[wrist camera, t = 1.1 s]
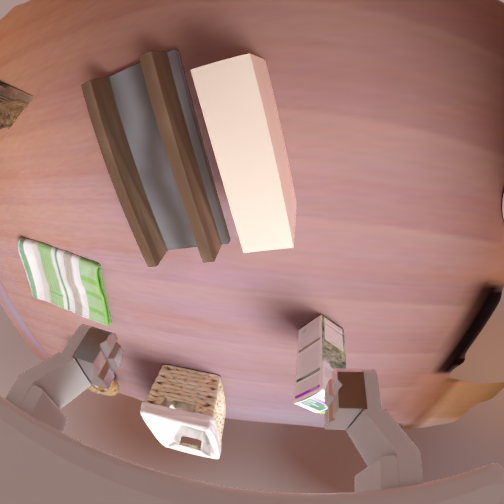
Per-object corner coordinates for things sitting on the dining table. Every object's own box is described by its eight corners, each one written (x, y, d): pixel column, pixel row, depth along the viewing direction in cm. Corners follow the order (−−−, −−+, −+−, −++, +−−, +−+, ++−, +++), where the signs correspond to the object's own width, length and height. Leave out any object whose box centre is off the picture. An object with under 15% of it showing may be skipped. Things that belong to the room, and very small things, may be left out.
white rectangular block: (264, 59, 27) (249, 53, 19) (296, 203, 37) (293, 247, 28) (221, 69, 29) (190, 69, 20) (257, 208, 38) (243, 253, 30)
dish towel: (22, 233, 49) (12, 242, 46) (101, 259, 48) (91, 271, 45) (40, 291, 59) (33, 300, 56) (114, 321, 58) (107, 333, 55)
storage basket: (158, 357, 62) (135, 411, 50) (227, 371, 60) (211, 432, 48) (176, 403, 76) (161, 446, 64) (231, 415, 74) (220, 461, 62)
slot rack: (178, 49, 27) (159, 47, 23) (230, 239, 41) (221, 260, 37) (99, 83, 30) (75, 88, 26) (156, 247, 44) (142, 267, 40)
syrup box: (297, 329, 49) (290, 405, 37) (322, 312, 46) (321, 391, 34) (320, 344, 50) (318, 416, 39) (345, 328, 47) (349, 404, 35)
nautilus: (62, 328, 66) (105, 339, 65) (88, 376, 77) (128, 387, 76) (48, 348, 60) (91, 362, 58) (78, 394, 71) (119, 408, 69)
